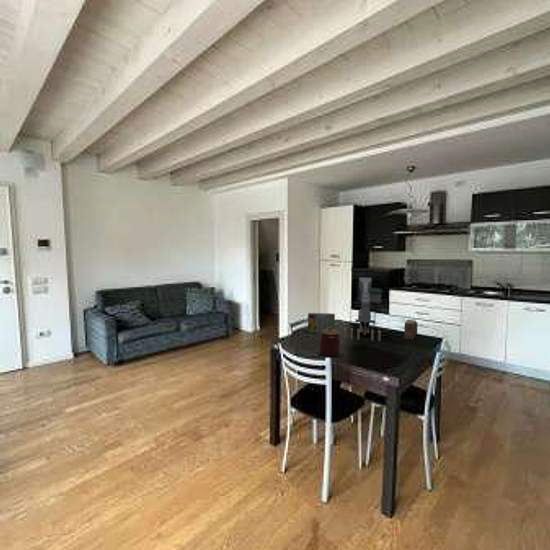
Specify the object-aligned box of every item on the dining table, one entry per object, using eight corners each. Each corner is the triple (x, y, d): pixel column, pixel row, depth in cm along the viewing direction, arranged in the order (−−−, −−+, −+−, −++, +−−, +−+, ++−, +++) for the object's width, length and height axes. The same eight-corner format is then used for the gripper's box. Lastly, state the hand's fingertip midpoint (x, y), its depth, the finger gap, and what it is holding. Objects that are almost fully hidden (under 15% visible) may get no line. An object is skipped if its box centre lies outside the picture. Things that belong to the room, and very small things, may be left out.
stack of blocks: (408, 332, 271) (409, 317, 270) (417, 333, 267) (418, 318, 266) (403, 338, 252) (404, 322, 251) (412, 340, 249) (413, 323, 248)
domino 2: (350, 337, 254) (350, 328, 254) (352, 337, 254) (352, 328, 253) (350, 339, 250) (350, 330, 249) (352, 339, 249) (352, 330, 249)
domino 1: (343, 336, 255) (343, 328, 255) (345, 337, 255) (346, 328, 254) (343, 338, 251) (343, 329, 250) (345, 338, 250) (346, 329, 250)
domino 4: (370, 338, 251) (371, 329, 250) (373, 338, 251) (373, 329, 250) (371, 340, 246) (371, 331, 246) (373, 340, 246) (373, 331, 245)
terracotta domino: (363, 333, 260) (363, 324, 259) (365, 333, 260) (365, 324, 259) (363, 335, 255) (364, 326, 254) (366, 335, 255) (366, 326, 254)
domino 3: (357, 337, 253) (357, 328, 253) (359, 338, 253) (359, 328, 252) (357, 339, 248) (357, 330, 248) (359, 339, 248) (359, 330, 247)
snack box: (334, 331, 271) (334, 313, 270) (334, 333, 266) (335, 314, 264) (307, 330, 273) (308, 312, 272) (307, 332, 268) (308, 313, 266)
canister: (324, 348, 226) (324, 323, 224) (342, 352, 219) (343, 325, 218) (316, 354, 215) (316, 327, 213) (335, 357, 208) (336, 330, 206)
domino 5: (377, 339, 250) (378, 330, 249) (379, 339, 250) (380, 330, 249) (378, 341, 245) (378, 331, 245) (380, 341, 245) (380, 331, 244)
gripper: (355, 315, 253) (355, 332, 255) (375, 316, 250) (375, 333, 252) (355, 313, 260) (355, 330, 262) (375, 314, 257) (374, 331, 259)
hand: (364, 331), depth 257 cm, fingers closed on terracotta domino, 1 cm apart
